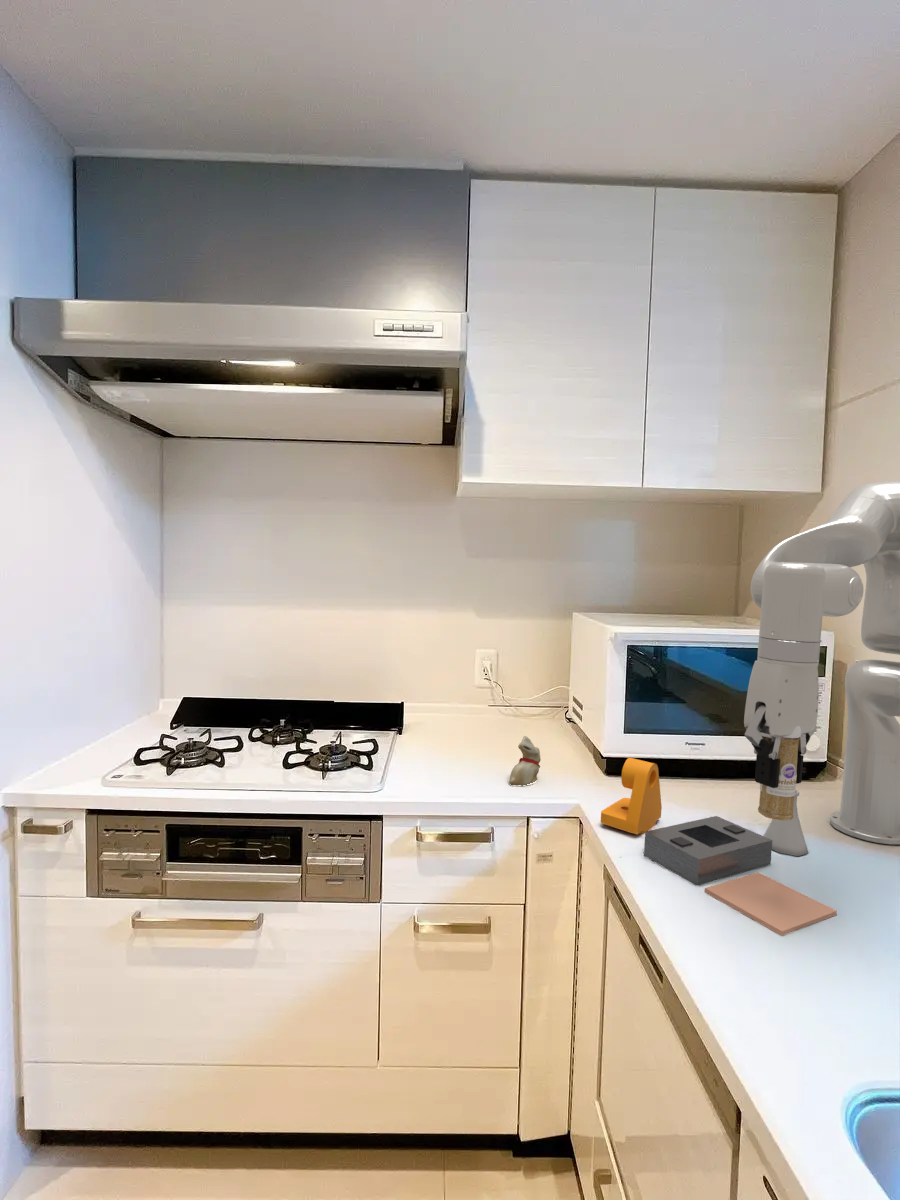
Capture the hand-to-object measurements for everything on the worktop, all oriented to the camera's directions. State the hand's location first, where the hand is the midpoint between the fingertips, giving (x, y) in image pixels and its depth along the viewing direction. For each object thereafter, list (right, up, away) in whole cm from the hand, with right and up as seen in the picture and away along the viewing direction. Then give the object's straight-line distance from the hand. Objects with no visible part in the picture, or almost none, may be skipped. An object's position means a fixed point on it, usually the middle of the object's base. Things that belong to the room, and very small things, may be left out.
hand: (777, 781), depth 90 cm
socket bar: (-4, -17, +14) cm, 22 cm away
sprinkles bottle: (0, -5, 0) cm, 5 cm away
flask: (+11, -17, +20) cm, 29 cm away
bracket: (-13, -16, +27) cm, 34 cm away
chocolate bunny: (-30, -14, +48) cm, 58 cm away
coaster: (-1, -17, +1) cm, 18 cm away
